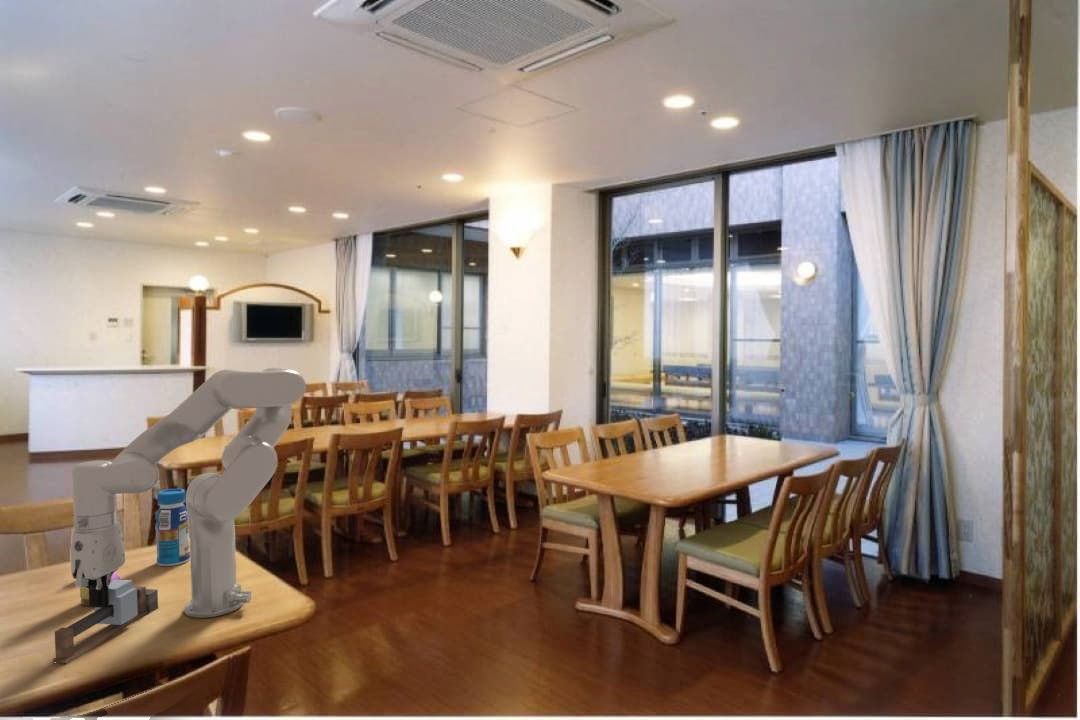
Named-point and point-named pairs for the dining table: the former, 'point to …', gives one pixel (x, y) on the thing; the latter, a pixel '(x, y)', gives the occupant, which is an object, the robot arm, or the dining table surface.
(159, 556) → the beverage bottle
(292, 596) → the dining table surface
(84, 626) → the stand
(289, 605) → the dining table surface
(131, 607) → the notched grey cube
